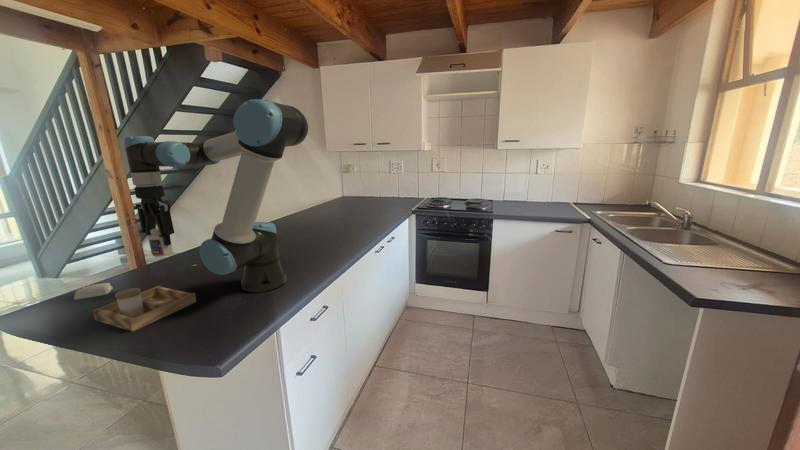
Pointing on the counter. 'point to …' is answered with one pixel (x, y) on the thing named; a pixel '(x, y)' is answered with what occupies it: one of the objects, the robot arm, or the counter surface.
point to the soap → (93, 290)
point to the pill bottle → (155, 243)
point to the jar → (130, 302)
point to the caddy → (146, 308)
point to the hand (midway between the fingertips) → (162, 253)
